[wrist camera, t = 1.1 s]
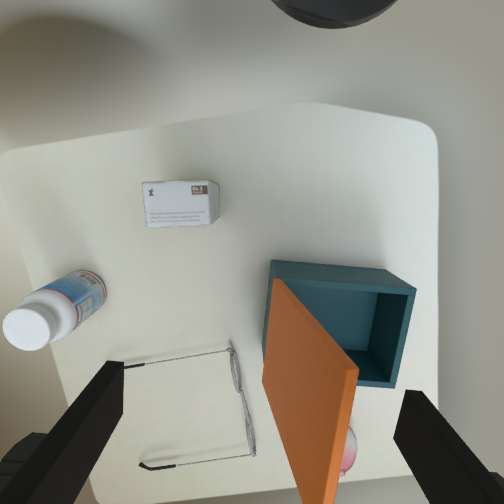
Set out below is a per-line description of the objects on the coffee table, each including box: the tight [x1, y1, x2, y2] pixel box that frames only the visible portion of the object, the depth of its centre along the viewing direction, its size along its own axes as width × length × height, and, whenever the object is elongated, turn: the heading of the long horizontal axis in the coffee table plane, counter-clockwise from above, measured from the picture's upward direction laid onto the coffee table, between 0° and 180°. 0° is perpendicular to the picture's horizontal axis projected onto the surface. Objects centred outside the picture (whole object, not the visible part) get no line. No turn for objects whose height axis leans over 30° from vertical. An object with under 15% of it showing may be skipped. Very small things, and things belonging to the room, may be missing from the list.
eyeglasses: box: [124, 348, 256, 471], centre depth 43 cm, size 18×19×4 cm
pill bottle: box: [3, 271, 106, 351], centre depth 35 cm, size 6×6×11 cm
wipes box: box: [262, 260, 417, 388], centre depth 38 cm, size 16×13×8 cm
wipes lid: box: [262, 278, 359, 504], centre depth 26 cm, size 16×13×1 cm
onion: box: [339, 426, 357, 477], centre depth 42 cm, size 8×8×7 cm
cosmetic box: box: [142, 180, 220, 228], centre depth 32 cm, size 6×4×12 cm
